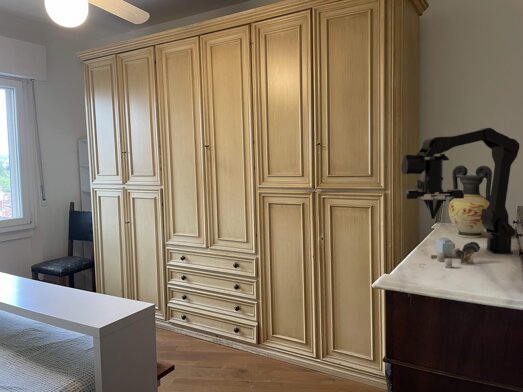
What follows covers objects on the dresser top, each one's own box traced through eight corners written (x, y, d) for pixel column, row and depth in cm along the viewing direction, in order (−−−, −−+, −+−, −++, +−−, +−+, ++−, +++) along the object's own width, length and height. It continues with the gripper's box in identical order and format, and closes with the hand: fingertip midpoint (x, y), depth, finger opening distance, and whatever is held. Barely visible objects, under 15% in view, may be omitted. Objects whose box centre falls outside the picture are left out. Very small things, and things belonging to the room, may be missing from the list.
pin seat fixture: (455, 253, 143) (455, 246, 143) (477, 268, 124) (477, 260, 124) (425, 253, 144) (425, 246, 144) (442, 268, 125) (442, 260, 125)
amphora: (494, 234, 176) (496, 164, 173) (492, 241, 162) (494, 165, 159) (450, 231, 186) (451, 165, 183) (444, 237, 171) (445, 166, 169)
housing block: (448, 251, 144) (448, 237, 144) (454, 256, 138) (455, 241, 137) (436, 251, 145) (436, 237, 144) (442, 256, 138) (442, 241, 138)
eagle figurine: (481, 263, 125) (486, 252, 132) (467, 244, 126) (472, 234, 133) (458, 272, 130) (464, 261, 137) (445, 254, 131) (451, 244, 138)
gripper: (453, 172, 147) (452, 215, 149) (400, 173, 150) (399, 215, 151) (465, 173, 136) (464, 220, 138) (407, 174, 139) (406, 220, 140)
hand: (432, 218), depth 142 cm, fingers closed
